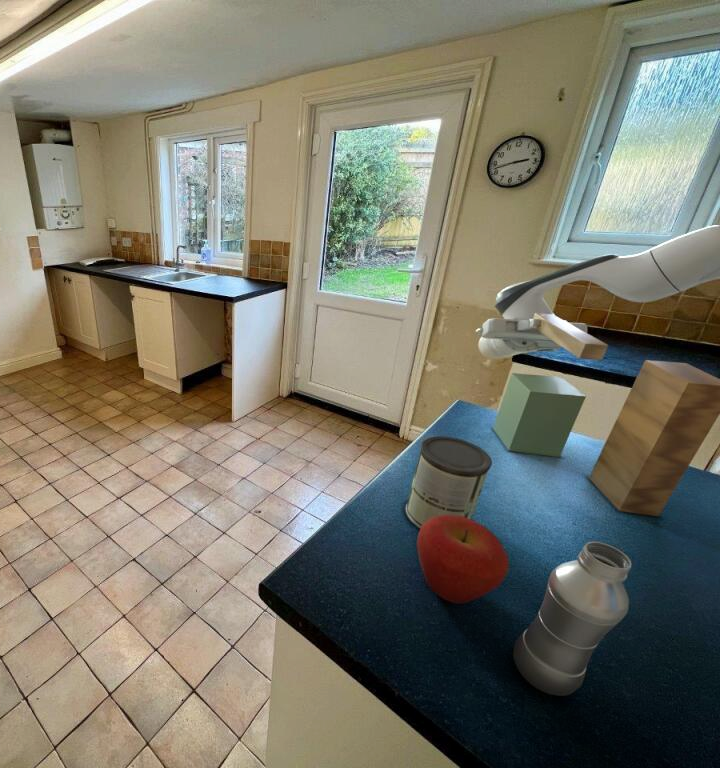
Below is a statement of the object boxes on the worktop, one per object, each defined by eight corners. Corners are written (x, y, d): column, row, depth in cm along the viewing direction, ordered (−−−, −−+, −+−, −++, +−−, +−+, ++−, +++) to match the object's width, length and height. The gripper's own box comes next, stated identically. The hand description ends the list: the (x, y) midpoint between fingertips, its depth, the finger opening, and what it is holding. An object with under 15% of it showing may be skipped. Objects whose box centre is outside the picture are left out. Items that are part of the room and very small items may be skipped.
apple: (489, 641, 54) (519, 576, 49) (401, 602, 59) (419, 540, 54) (489, 579, 63) (514, 518, 58) (412, 550, 68) (428, 492, 63)
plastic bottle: (495, 657, 52) (550, 539, 44) (534, 641, 54) (595, 525, 46) (546, 712, 47) (621, 590, 38) (588, 693, 49) (669, 572, 40)
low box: (539, 433, 100) (561, 377, 94) (559, 457, 91) (586, 396, 85) (492, 428, 102) (511, 372, 96) (508, 450, 94) (530, 391, 87)
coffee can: (400, 494, 80) (415, 432, 74) (459, 503, 78) (479, 439, 72) (410, 533, 71) (428, 465, 65) (476, 544, 69) (502, 475, 63)
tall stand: (623, 482, 83) (686, 363, 72) (658, 516, 75) (736, 386, 64) (588, 477, 85) (645, 359, 74) (618, 511, 76) (688, 382, 65)
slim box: (548, 326, 95) (553, 314, 94) (602, 360, 77) (608, 345, 75) (530, 325, 96) (534, 313, 95) (579, 358, 78) (585, 343, 76)
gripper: (473, 320, 107) (498, 306, 94) (565, 326, 103) (605, 311, 89) (471, 344, 107) (496, 333, 93) (563, 351, 102) (603, 340, 89)
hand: (550, 323), depth 91 cm, fingers closed on slim box, 3 cm apart
